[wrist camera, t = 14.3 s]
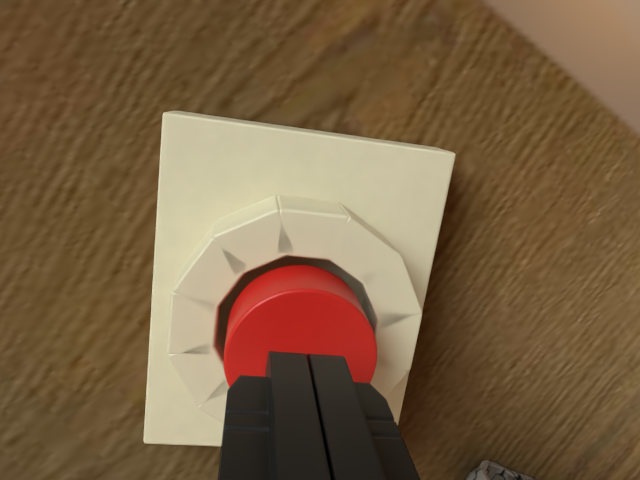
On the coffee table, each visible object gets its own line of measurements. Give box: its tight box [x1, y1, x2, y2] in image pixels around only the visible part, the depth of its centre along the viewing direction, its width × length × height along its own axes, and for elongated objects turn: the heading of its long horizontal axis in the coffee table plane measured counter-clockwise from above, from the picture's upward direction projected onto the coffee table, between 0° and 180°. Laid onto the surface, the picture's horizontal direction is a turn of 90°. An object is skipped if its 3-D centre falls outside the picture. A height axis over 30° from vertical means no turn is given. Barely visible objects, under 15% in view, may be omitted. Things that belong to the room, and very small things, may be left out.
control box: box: [144, 111, 455, 446], centre depth 14 cm, size 10×8×4 cm
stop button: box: [223, 265, 377, 387], centre depth 12 cm, size 4×4×2 cm
